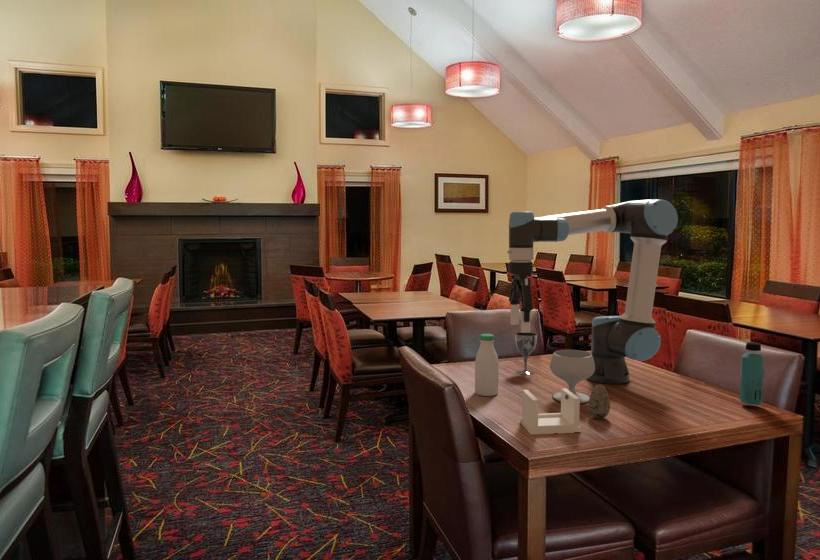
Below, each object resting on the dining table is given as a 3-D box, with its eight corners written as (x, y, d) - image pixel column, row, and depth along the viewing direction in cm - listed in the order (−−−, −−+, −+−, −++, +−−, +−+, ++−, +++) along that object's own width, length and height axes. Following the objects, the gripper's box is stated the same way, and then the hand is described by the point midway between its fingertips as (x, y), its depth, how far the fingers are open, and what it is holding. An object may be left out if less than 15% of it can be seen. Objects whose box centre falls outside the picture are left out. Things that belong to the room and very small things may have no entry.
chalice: (545, 392, 200) (546, 348, 199) (587, 392, 200) (588, 348, 198) (554, 405, 186) (555, 358, 185) (599, 405, 186) (600, 358, 184)
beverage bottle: (754, 410, 180) (757, 345, 178) (733, 404, 186) (736, 341, 184) (767, 407, 183) (771, 343, 181) (746, 401, 189) (750, 339, 187)
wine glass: (539, 371, 227) (539, 333, 226) (531, 376, 221) (532, 336, 219) (519, 369, 232) (520, 331, 230) (511, 373, 225) (512, 334, 223)
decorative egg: (609, 422, 170) (610, 388, 169) (587, 420, 172) (588, 386, 171) (610, 415, 176) (611, 382, 175) (589, 413, 178) (589, 381, 177)
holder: (567, 420, 172) (568, 388, 171) (580, 432, 162) (581, 398, 161) (520, 422, 171) (520, 389, 170) (530, 434, 161) (531, 400, 160)
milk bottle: (497, 397, 195) (498, 337, 193) (473, 396, 196) (474, 336, 194) (498, 390, 202) (499, 332, 200) (475, 389, 204) (476, 332, 202)
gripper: (500, 258, 198) (499, 321, 200) (519, 264, 173) (518, 336, 175) (522, 258, 199) (521, 321, 201) (544, 264, 174) (543, 335, 176)
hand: (520, 328), depth 188 cm, fingers open, 13 cm apart
